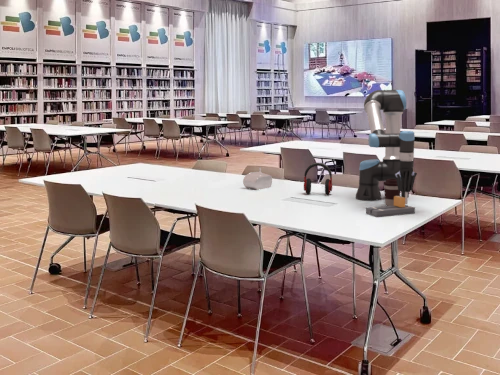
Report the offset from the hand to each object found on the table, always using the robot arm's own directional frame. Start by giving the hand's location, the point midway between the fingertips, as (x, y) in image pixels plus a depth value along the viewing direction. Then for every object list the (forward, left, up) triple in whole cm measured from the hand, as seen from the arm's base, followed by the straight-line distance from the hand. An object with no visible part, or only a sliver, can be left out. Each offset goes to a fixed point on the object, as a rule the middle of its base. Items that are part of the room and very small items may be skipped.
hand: (404, 203), depth 326 cm
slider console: (0, -9, -4) cm, 10 cm away
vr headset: (-104, -42, -5) cm, 112 cm away
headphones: (-66, -17, -5) cm, 68 cm away
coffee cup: (-17, +4, -5) cm, 18 cm away
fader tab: (0, -4, -3) cm, 5 cm away
